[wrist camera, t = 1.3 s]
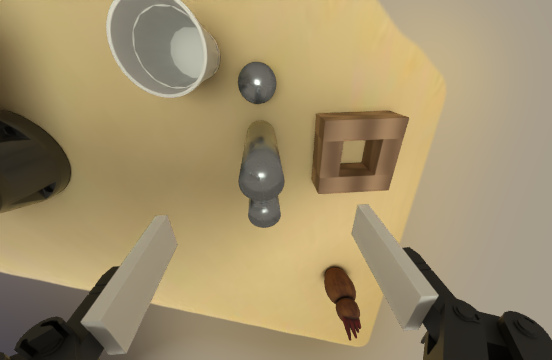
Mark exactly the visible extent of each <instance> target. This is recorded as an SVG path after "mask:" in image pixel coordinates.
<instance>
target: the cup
mask: <svg viewBox="0 0 552 360" xmlns="http://www.w3.org/2000/svg"><path fill="white" fill-rule="evenodd" d="M106 30H107V38H108V43H109V46H110V49H111V52H112V54H113V56H114V59H115V60H116V62H117V64H118V65H119V67H120V68H121V70H122V71H123V72H124V74H125V75H126V76H127V77H128V78H129V79H130V80H131V81H132V82H133V83H134V84H136V85H137V86H138V87H140V88H141V89H143V90H145V91H146V92H148V93H151V94H153V95H156V96H160V97H166V98H175V97H180V96H183V95H186V94H188V93H189V92H191V91H192V90H194V89H195V88H196V87H197V86H198V85H200V84H201V83H202V82H203V81H205V80H206V79H209V78H210V77H212V76H213V75H214V74H215V73H216V72H217V70H218V68H219V65H220V51H219V47H218V45H217V43H216V41H215V39H214V38H213V36H212V35H211V34H210V33H209V32H207V31H206V30H205V29H204V28H203V26H202V25H201V24H200V22H199V21H198V20H197V19H196V17H195V16H194V15H193V13H192V12H191V11H190V10H189V8H188V7H187V6H186V5H185V4H184V3H183V2H182V1H181V0H114V1H113V3H112V4H111V6H110V9H109V12H108V16H107V23H106Z"/></svg>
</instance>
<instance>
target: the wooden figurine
mask: <svg viewBox="0 0 552 360" xmlns="http://www.w3.org/2000/svg"><path fill="white" fill-rule="evenodd" d="M324 284H325V290H326V293H327V295H328V297H329V298H330V300H331V301H332V302H333V303H335V304H336V311H337V314H338V316H339V318H340V319H341V320H342V321H343V323H344V326H345V329H346V332H347V335H348V338H349V340H350V341H351V333H350V328H351V330H352V332H353V334H354V336H355V338H357V335H356V331H357V333H359V329H361V324H360V320H359V317H360V310H359V308H358V305H357V303H356V302H355V298H356V291H355V287H354V285H353V282H352V281H351V279H350V278H349V277H348V276H347V274H346V273H345V272H344V271H343V270H342V269H340V268H331V269H329V270H327V272H326V273H325V280H324ZM358 328H359V329H358ZM355 329H356V331H355Z"/></svg>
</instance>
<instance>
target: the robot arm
mask: <svg viewBox="0 0 552 360" xmlns="http://www.w3.org/2000/svg"><path fill="white" fill-rule="evenodd" d="M69 179H70V166H69V163H68V160H67V158H66V156H65V154H64V152H63V151H62V149H61V148H60V147H59V145H58V144H57V143H56V142H55V141H54V140H53V139H52V138H51V137H50V136H49V135H48V134H47V133H46V132H45V131H44V130H42V129H41V128H40V127H38V126H37V125H35V124H34V123H32V122H30V121H29V120H27V119H25V118H23V117H21V116H19V115H16V114H14V113H11V112H8V111H5V110H2V109H0V213H2V212H6V211H10V210H13V209H17V208H20V207H24V206H28V205H31V204H35V203H38V202H42V201H44V200H47V199H49V198H51V197H52V196H54V195H56V194H57V193H59V192H60V191H62V190H63V189H64V188H65V187H66V186H67V184H68V182H69ZM352 236H353V238H354V240H355V242H356V243H357V245H358V247H359V249H360V251H361V253H362V255H363V257H364V258H365V260H366V262H367V264H368V266H369V268H370V270H371V271H372V273H373V275H374V277H375V279H376V281H377V283H378V285H379V286H380V288H381V290H382V292H383V294H384V296H385V297H386V299H387V301H388V303H389V305H390V307H391V309H392V311H393V312H394V314H395V316H396V318H397V320H398V322H399V324H400V326H401V327H402V329H403V331H406V330H418V329H419V328H420V326H421V324H422V323H423V324H424V326H425V327H426V329H427V332H426V334H425V335H424V337H423V338H422V340H421V343H422V344H424V342H425V347H424V356H423V360H552V340H551V338H550V337H549V335H548V334H547V333H546V331H545V330H544V329H543V328H542V327H541V326H540V325H539V324H537V323H536V322H535V321H534V320H532V319H530V318H529V317H527V316H525V315H523V314H520V313H518V312H513V311H508V312H505V313H504V314H503V315H502V316H501V317H499V316H495V315H491V314H486V313H482V312H479V311H477V310H476V309H475V308H473V307H472V306H471V305H470V304H468V303H466V302H464V301H462V300H459V299H456V298H455V297H454V295H453V294H452V293H451V292H450V291H449V289H448V288H447V287H446V286H445V285H444V284H443V282H442V281H441V280H440V279H439V278H438V276H437V275H436V274H435V273H434V272H433V271H432V270H431V268H430V267H429V266H428V265H427V264H426V262H425V261H424V260H423V259H422V257H421V256H420V255H419V254H418V253H417V252H415V251H413V249H411V248H410V247H407V248H402V247H401V246H400V245H399V243H398V242H397V241H396V240H395V238H394V237H393V236H392V234H391V233H390V232H389V230H388V229H387V228H386V227H385V225H384V224H383V223H382V221H381V220H380V219H379V218H378V216H377V215H376V214H375V212H374V211H373V210H372V208H371V207H370V206H369V205H368V204H364V205H357V210H356V215H355V220H354V225H353V229H352ZM177 245H178V244H177V242H176V239H175V236H174V233H173V230H172V227H171V224H170V221H169V218H168V216H167V215H160V216H155V218H154V219H153V220H152V222H151V223H150V225H149V226H148V227H147V229H146V230H145V232H144V233H143V234H142V236H141V237H140V239H139V240H138V242H137V243H136V244H135V246H134V247H133V249H132V250H131V251H130V253H129V254H128V256H127V257H126V258H125V260H124V261H123V263H122V264H121V266H117V267H112V268H111V269H110V270H108V271H107V272H106V273H105V274H104V275H102V277H101V278H100V279H99V281H98V282H97V283H96V285H95V287H93V289H92V290H91V291H90V292H89V295H87V297H86V298H85V299H84V300H83V302H82V303H81V304H80V306H79V307H78V308H77V310H76V311H75V312H74V314H73V315H72V316H71V318H70V319H69V320H68V321H67V323H66V322H65V321H64V320H63V319H62V318H60V317H52V318H48V319H46V320H43V321H41V322H39V323H38V324H36V325H35V326H33V327H32V328H31V329H29V330H28V331H27V332H26V333H25V334H24V335H23V336H22V337H21V338H20V340H19V341H18V342H17V344H16V347H15V349H14V350H15V351H16V352H18V354H16V355H13V356H10V357H8V356H7V355H5V354H4V353H1V352H0V360H100V359H99V356H100V355H101V353H102V351H103V349H104V350H105V351H107V353H108V354H109V355H112V354H125V353H127V351H128V349H129V346H130V344H131V342H132V340H133V338H134V336H135V334H136V332H137V330H138V328H139V325H140V323H141V321H142V319H143V317H144V315H145V313H146V310H147V308H148V306H149V304H150V302H151V300H152V298H153V296H154V294H155V291H156V289H157V287H158V285H159V283H160V281H161V279H162V277H163V274H164V272H165V270H166V268H167V266H168V264H169V262H170V260H171V257H172V255H173V253H174V251H175V249H176V247H177Z"/></svg>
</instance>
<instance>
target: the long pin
mask: <svg viewBox="0 0 552 360" xmlns="http://www.w3.org/2000/svg"><path fill="white" fill-rule="evenodd" d="M239 187H240V189H241V191H242V192H243V194H244V195H245V196H247V197H248V198H250V199H252V200H256V201H267V200H271V199H273V198H275V197H276V196H277V195H278V194H279V193H280V192H281V191H282V189H283V187H284V175H283V171H282V166H281V161H280V157H279V152H278V148H277V143H276V138H275V134H274V130H273V127H272V126H271V125H270V124H269V123H267V122H265V121H256V122H254V123H252V124H251V125H250V127H249V128H248V132H247V137H246V143H245V148H244V153H243V159H242V164H241V169H240V175H239Z"/></svg>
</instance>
